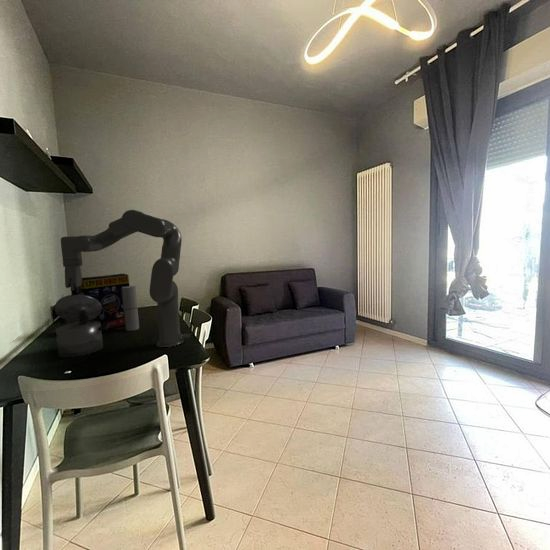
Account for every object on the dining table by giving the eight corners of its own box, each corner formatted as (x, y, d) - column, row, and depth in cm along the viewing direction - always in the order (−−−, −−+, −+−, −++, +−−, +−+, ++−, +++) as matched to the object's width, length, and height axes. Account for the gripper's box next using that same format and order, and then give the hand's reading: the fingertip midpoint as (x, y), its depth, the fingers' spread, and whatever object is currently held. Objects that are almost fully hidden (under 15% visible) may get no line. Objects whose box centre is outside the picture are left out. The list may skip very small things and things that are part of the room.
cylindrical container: (134, 330, 177) (130, 287, 174) (123, 330, 178) (119, 288, 175) (141, 327, 184) (138, 286, 181) (131, 327, 185) (127, 286, 182)
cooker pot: (112, 340, 160) (110, 317, 159) (106, 352, 142) (104, 327, 140) (58, 347, 152) (55, 324, 150) (44, 361, 134) (41, 334, 132)
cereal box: (126, 321, 201) (120, 272, 198) (135, 323, 194) (129, 272, 191) (81, 332, 180) (74, 278, 177) (89, 334, 173) (82, 278, 170)
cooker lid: (104, 318, 157) (105, 314, 159) (97, 294, 144) (97, 289, 146) (60, 323, 150) (61, 318, 152) (48, 298, 137) (50, 293, 139)
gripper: (67, 262, 149) (71, 299, 151) (58, 264, 135) (62, 305, 137) (85, 261, 152) (89, 298, 154) (77, 263, 138) (81, 303, 140)
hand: (76, 301), depth 146 cm, fingers closed
